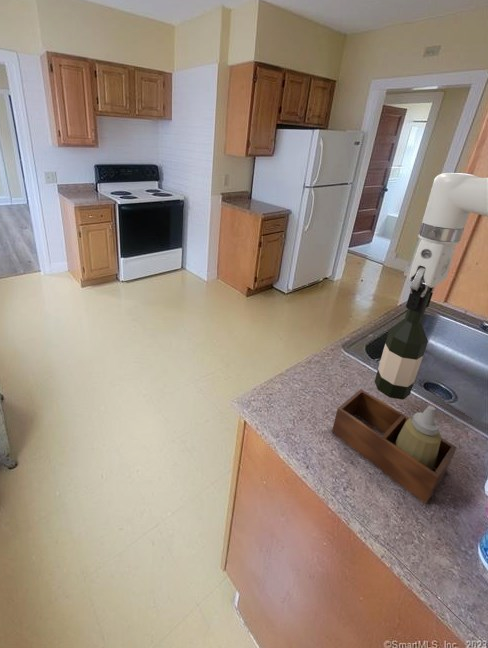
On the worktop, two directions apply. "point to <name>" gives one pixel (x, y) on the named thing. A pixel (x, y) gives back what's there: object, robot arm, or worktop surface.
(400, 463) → the bottle rack
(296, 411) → the worktop surface
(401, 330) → the wine bottle
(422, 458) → the squeeze bottle
